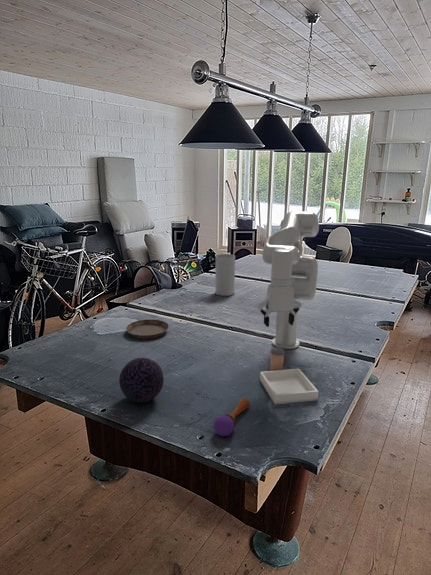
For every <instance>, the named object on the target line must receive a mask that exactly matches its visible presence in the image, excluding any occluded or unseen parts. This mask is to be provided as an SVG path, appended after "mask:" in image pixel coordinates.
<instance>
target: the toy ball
mask: <svg viewBox="0 0 431 575" xmlns="http://www.w3.org/2000/svg"><path fill="white" fill-rule="evenodd" d="M118 380H119V381H118V382H119V388H120V390H121V393H123V395H124V396H125V397H126V399H128V400H130V401H132V402H134V403H146V402H150V401H152V400H153V399H154V398H157V396H158V395H159V394H160V393H161V391H162V389H163V386H164V380H165V378H164V372H163V370H162V368H161V366H160V365H159V364H158V363H157V362H156V361H155V360H152V359H151V358H147V357H138V358H134V359H131V360H130V361H129V362H127V363H126V364H125V365H124V367H123V368H122V369H121V372H120V375H119V378H118Z"/></svg>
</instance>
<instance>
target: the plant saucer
mask: <svg viewBox="0 0 431 575" xmlns="http://www.w3.org/2000/svg"><path fill="white" fill-rule="evenodd" d="M169 327H170V326H169V323H167V322H166V321H164V320H161V319H160V320H159V319H151V318H149V319H141V320H137V321H133V322H131V323H130V324H127V325H126V328H125V329H126V331H127V333H128V334H129V335H131V336H132V337H133V338H136V339H140V338H142V340H143V339H145V340H148V339H150V338H151V339H156V338H158V337H162V336H163V335H164V334H166V332H168V330H169V329H170V328H169ZM133 330H135V331H136V332H132V331H133ZM131 332H132V333H131ZM137 332H138V333H137ZM133 333H135V334H133ZM136 333H137V334H136ZM139 334H140V335H139ZM151 339H150V340H151Z"/></svg>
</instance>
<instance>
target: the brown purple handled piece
mask: <svg viewBox="0 0 431 575" xmlns="http://www.w3.org/2000/svg"><path fill="white" fill-rule="evenodd" d="M250 406H251V402H250V400H249V399H248V398H246V397H243V398H241V400H240V401H239V403H238V405H237V406H236V407H235V409H234V410H233V412H232V414H230V413H228V414H227V413H226V414H224V415H219V416H218V417H217V418H216V419H215V420H214V423H213V429H214V432H216V434H217V435H218V436H221V437H227V436H229V435H231V433H233V431H234V425H235V424H236V423H235V422H236V421H235V420H236V419H235V418H236V417H237V416H238V415H239V414H241V413H242V412H243V411H245V410H247V408H249V407H250Z"/></svg>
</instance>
